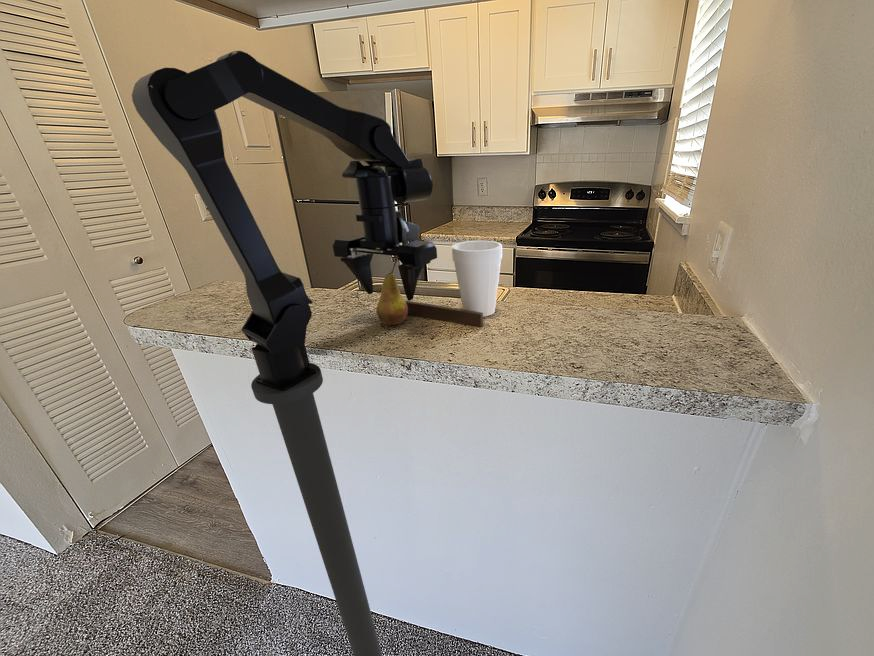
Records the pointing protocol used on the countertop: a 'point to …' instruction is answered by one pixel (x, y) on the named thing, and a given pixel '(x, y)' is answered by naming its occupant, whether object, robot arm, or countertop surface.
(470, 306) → the foam cup
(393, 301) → the fruit
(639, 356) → the countertop surface
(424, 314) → the rail
